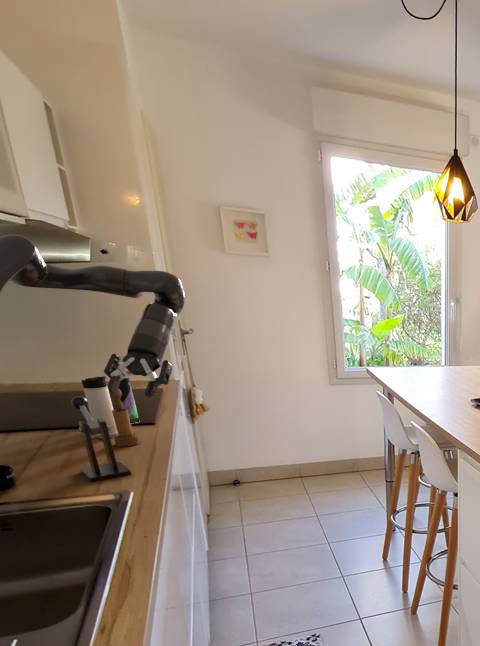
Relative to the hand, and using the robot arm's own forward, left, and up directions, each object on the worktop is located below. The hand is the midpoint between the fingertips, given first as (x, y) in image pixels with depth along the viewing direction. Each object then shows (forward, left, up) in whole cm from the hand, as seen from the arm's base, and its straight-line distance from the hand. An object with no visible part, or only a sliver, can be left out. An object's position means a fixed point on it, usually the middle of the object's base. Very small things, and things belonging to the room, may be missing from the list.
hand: (130, 394), depth 138 cm
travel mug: (+3, +57, -24) cm, 62 cm away
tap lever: (-7, +21, -10) cm, 24 cm away
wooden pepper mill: (+5, +43, -24) cm, 49 cm away
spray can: (+13, +73, -24) cm, 78 cm away
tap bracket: (-7, +15, -24) cm, 29 cm away
